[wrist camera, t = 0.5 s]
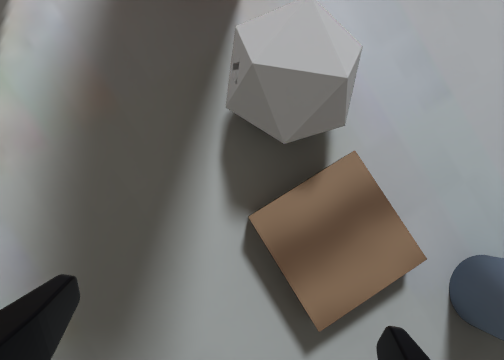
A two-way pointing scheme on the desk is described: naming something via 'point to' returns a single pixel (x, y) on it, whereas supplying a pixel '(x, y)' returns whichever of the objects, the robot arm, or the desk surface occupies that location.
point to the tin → (480, 293)
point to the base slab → (337, 240)
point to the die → (293, 71)
